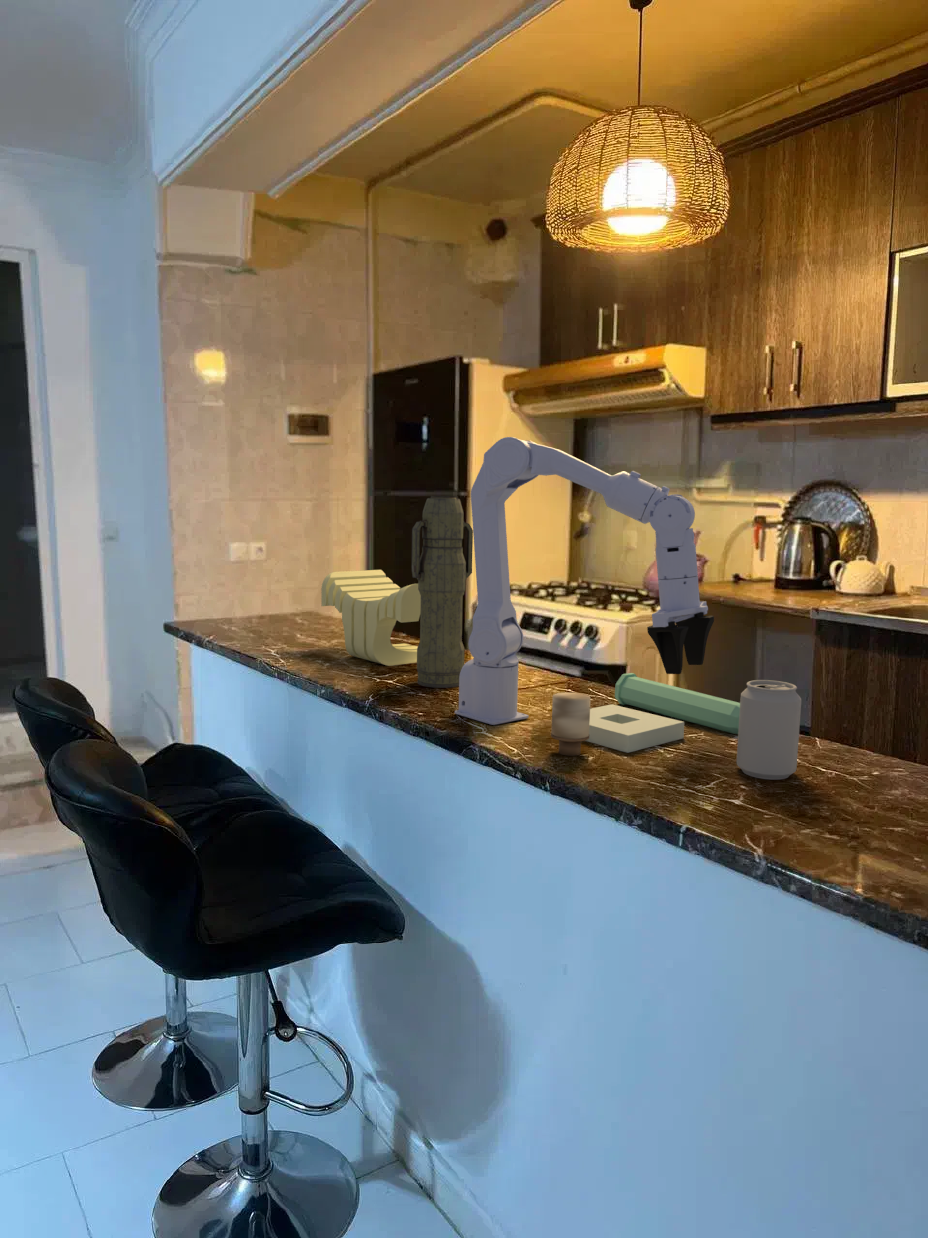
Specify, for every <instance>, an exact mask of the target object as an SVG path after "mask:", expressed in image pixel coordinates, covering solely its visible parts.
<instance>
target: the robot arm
mask: <svg viewBox="0 0 928 1238" xmlns="http://www.w3.org/2000/svg"><path fill="white" fill-rule="evenodd" d="M555 475H556V476H559V477H560V478H563V479H566V480H568V481H570V482H572V483H574V484H577V485H579V486H582V487H585V488H586V489H589V490H591V491H594V492H596V493H598V494H601V495H602V496H603V499H604V502H605V504H606V507H608V508H610V509H612V510H613V511H616V512H617V513H620V514H623V515H625V516H627V517H628V518H631V519H633V520H635V521H638V522H640V523H642V524H644V525H646V524H648V523H649V524H650V527H651V528H652V529H653V530H654V531H655V544H656V545H655V558H656V570H657V571H656V574H657V584H658V595H659V596H658V597H659V609H657V611H655V612H654V613H651V618H652V620H651V621H652V625H650V626H647V628H646V629H647V634H648V635H649V637H650V639H651V641H653V642H654V645H655V646H656V649H657V650H658V653H659V656H660V659H661V662H662V665H663V668H664V671H665V673H666V675H681V674H682V672H683V658H684V654H685V659H686V662H687V665H688V666H690V665H691V666H702V665H703V664H704V661H705V660H704V659H705V655H706V649H707V641H708V639H709V635H710V631H711V629H712V626H713V625H714V623H715V616H714V615H707V614H708V612H709V607H708V605H707V601H706V600H705V601H701V600H700V589H699V588H700V587H699V576H698V575H699V574H698V573H699V571H698V563H697V562H698V560H697V548H696V546H697V545H696V544H695V532H694V528H693V527H692V526H693V524H694V521H695V518H696V517H695V516H696V513H695V508H694V506H693V504H692V503H691V501H689V499H687V498H686V497H684V496H683V495H682V494H677V493H676V494H669V492H670V489H671V488H669V487H668V486H665V485H662V487H660V486H659V485H655V484H653V483H651V482H648V481H646V480H645V479H642V478H641V475H642V474H641V473H640V472H637V471H635V470H632V471H630V472H628V471H620V472H618V473H616V474H613V475H611V474H610V473H607V472H605V471H604V470H601V469H600V468H597V467H595V466H594V465H591V464H589V463H588V462H585V461H583V460H581V459H579V458H577V457H575V456H573V455H571V454H569V453H567V452H565V451H563V450H561V449H558V448H554V447H552V446H547V445H544V444H539V443H536V442H535V441H532V440H527V439H526V440H523V439H519V438H517V437H514V436H507V437H503V438H500V439H499V440H497V441H496V442H495V443H494V444H493V445H491V446H490V448H489V449H488V450H487V451H486V452H484V453H483V462H482V464H481V467H480V469H479V472H478V473H477V476H476V477H475V481H474V482H473V485H472V487H471V490H470V501H471V502H470V503H471V518H472V519H471V520H472V530H473V546H474V547H473V549H474V550H473V551H474V563H475V577H476V593H477V606H476V609H475V611H474V614H473V616H472V629H471V633H470V635H469V638H468V649H469V650H468V651H469V652H470V655H471V656H472V657H473V658H472V659H470V660H468V661H466V662H464V666H463V667H462V669H461V672H460V677H459V686H458V709H456V710H454V714H456V715H458V716H461V717H463V718H469V719H471V720H474V721H477V722H480V723H484V724H489V725H491V726H492V725H493V726H496V725H501V724H506V723H510V722H515V721H520V720H525V719H529V714H525V713H523V712H519V711H518V695H519V694H518V692H519V690H518V689H519V688H518V687H519V661H520V660H519V659H518V657H517V653H518V652H519V651H520V649H521V648H522V646H523V644H524V632H523V630H522V628H521V626H520V624H519V622H518V619H517V610H516V608H515V607H514V605H513V601H512V600H511V598H512V597H511V584H510V583H511V582H510V568H509V567H510V566H509V555H508V553H509V552H508V539H507V537H508V536H507V534H508V533H507V521H506V508H505V507H506V506H505V505H506V504H505V503H506V501H507V500H508V499H509V498H510V497H511V496H512V495H513V494H514V493H515V492H516V491H517V490H518V488H520V487H521V486H523V485H525V484H527V483H529V482H531V481H533V480H535V479H536V478H537V477H538V476H546V477H547V476H555ZM683 653H684V654H683Z"/></svg>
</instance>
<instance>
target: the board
mask: <svg viewBox="0 0 928 1238" xmlns="http://www.w3.org/2000/svg"><path fill="white" fill-rule="evenodd" d="M684 735H685V721H684V720H683V721H682V720H680V719H676V718H675V719H674V718H670V717H666V716H661V715H658V714H652V713H649V712H645V711H641V710H636V709H633V708H628V707H623V706H620V705H617V704H607V705H602V706H596V707H592V708H591V707H590V723H589V739H588V740H585V741H584V742H589V743H592V744H595V745H599V746H603V747H606V748H608V749H609V748H610V749H614V750H617V751H620V752H623V753H626V754H628V753H632V752H636V751H640V750H643V749H648V748H651V747H655V746H659V745H663V744H666V743H671V742H674V741H678V740H683V739H684V738H685V736H684Z"/></svg>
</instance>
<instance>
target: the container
mask: <svg viewBox="0 0 928 1238" xmlns="http://www.w3.org/2000/svg"><path fill="white" fill-rule="evenodd" d="M614 698H615V700H616V701H617V702H618V704H620V705H622V706H624V705H628V706H633V707H634V708H635V707H636V708H640V709H642V710H646V711H650V712H652V713H653V712H654V713H656V714H660V715H664V716H668V717H669V718H670V717H671V718H673V719H674V718H675V719H677V720H680V721H682V720H683V721H684V722H689V723H693V724H697V725H700V726H704V727H708V728H712V729H715V730H720V731H723V732H725V733H729V734H736V735H738V731H739V715H740V702H737V701H733V700H731V699H725V698H722V697H718V696H714V695H710V694H706V693H702V692H698V691H695V690H691V689H687V688H686V689H685V688H681V687H678V686H675V685H671V684H667V683H663V682H660V681H659V682H658V681H655V680H651V679H647V678H642V677H638V676H637V674H636V673H634V672H629V673H623V674H621V676H619V678H618V680H617V681H616V683H615V688H614Z"/></svg>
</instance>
